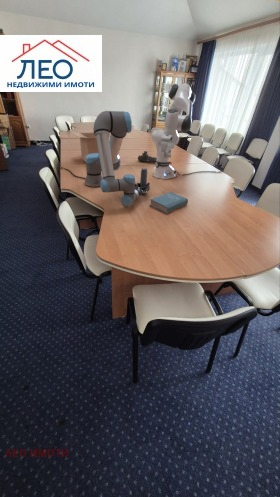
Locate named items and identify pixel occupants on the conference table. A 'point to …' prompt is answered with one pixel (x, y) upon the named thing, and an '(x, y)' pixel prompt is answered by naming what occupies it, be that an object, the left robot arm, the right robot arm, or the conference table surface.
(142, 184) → the dark grey cylinder
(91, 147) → the box
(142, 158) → the laser sight
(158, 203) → the book
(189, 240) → the conference table surface
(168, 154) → the lid
